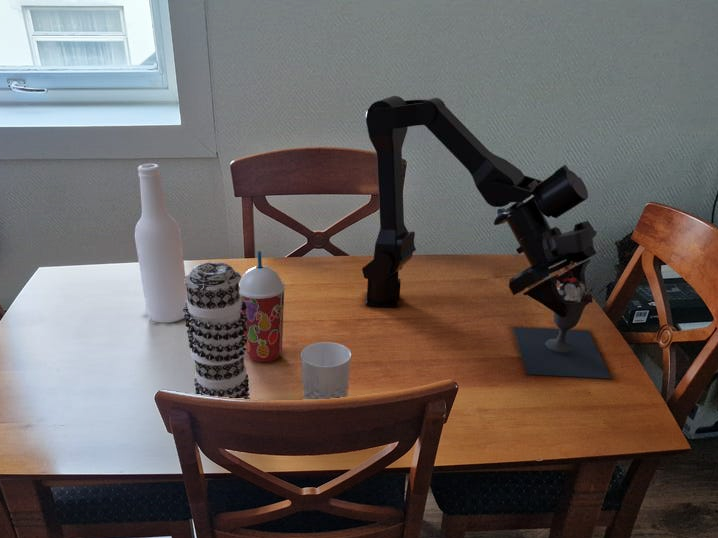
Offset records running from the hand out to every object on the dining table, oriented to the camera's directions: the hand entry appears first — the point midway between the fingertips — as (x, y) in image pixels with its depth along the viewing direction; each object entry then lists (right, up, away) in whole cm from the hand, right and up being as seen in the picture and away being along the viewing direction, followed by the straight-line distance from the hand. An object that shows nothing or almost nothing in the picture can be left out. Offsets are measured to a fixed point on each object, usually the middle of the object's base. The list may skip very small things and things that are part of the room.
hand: (575, 310), depth 114 cm
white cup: (-44, -17, -7) cm, 48 cm away
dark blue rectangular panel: (-1, -7, +6) cm, 9 cm away
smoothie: (-55, -7, +7) cm, 56 cm away
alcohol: (-76, +3, +22) cm, 79 cm away
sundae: (-1, -6, +5) cm, 8 cm away
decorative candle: (-61, -18, -9) cm, 64 cm away
